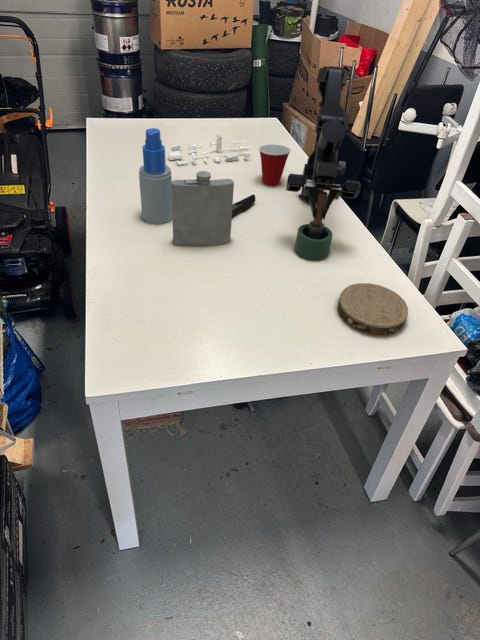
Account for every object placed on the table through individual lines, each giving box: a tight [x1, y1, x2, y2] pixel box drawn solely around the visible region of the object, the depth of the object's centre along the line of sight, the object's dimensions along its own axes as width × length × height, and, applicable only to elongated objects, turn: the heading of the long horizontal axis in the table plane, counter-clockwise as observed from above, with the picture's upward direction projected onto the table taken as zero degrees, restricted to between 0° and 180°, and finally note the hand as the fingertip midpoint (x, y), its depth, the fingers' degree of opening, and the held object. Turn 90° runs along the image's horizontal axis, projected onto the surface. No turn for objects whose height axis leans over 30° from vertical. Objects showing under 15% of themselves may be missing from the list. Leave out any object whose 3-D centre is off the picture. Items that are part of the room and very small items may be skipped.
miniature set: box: [168, 134, 252, 166], centre depth 171 cm, size 6×35×12 cm
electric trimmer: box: [232, 194, 256, 217], centre depth 142 cm, size 4×16×3 cm, turn 143°
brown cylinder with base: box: [307, 190, 329, 239], centre depth 121 cm, size 4×4×13 cm
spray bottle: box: [138, 127, 173, 225], centre depth 128 cm, size 9×9×25 cm
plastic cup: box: [258, 143, 292, 187], centre depth 156 cm, size 11×11×12 cm
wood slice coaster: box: [336, 282, 409, 337], centre depth 108 cm, size 16×16×3 cm
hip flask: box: [171, 170, 235, 247], centre depth 121 cm, size 16×4×20 cm, turn 101°
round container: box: [294, 223, 334, 262], centre depth 126 cm, size 9×9×6 cm
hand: (318, 218), depth 120 cm, fingers closed on brown cylinder with base, 2 cm apart
